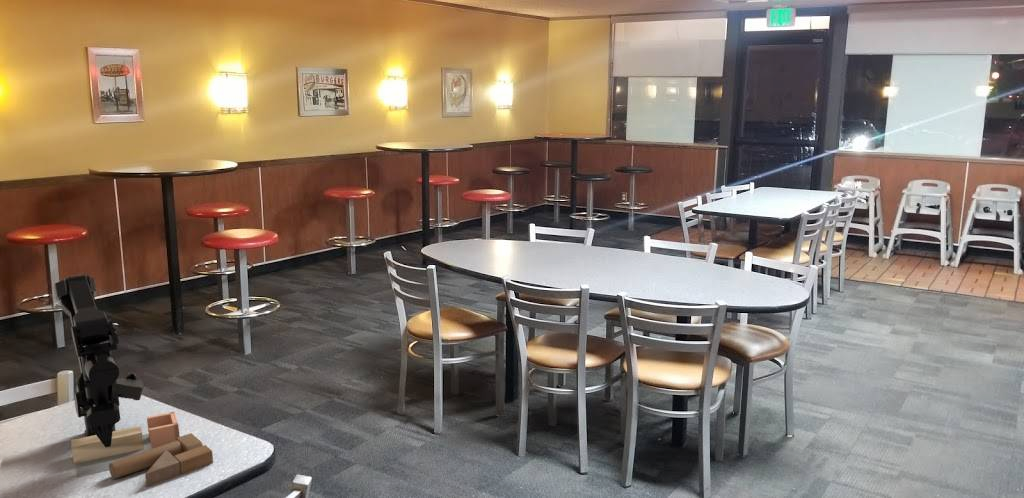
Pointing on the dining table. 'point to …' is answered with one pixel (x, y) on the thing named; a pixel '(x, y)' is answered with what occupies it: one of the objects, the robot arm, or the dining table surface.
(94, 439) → the wooden building block
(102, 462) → the board
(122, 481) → the dining table surface
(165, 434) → the u-shaped bracket
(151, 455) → the tan wooden pieces
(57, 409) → the dining table surface
